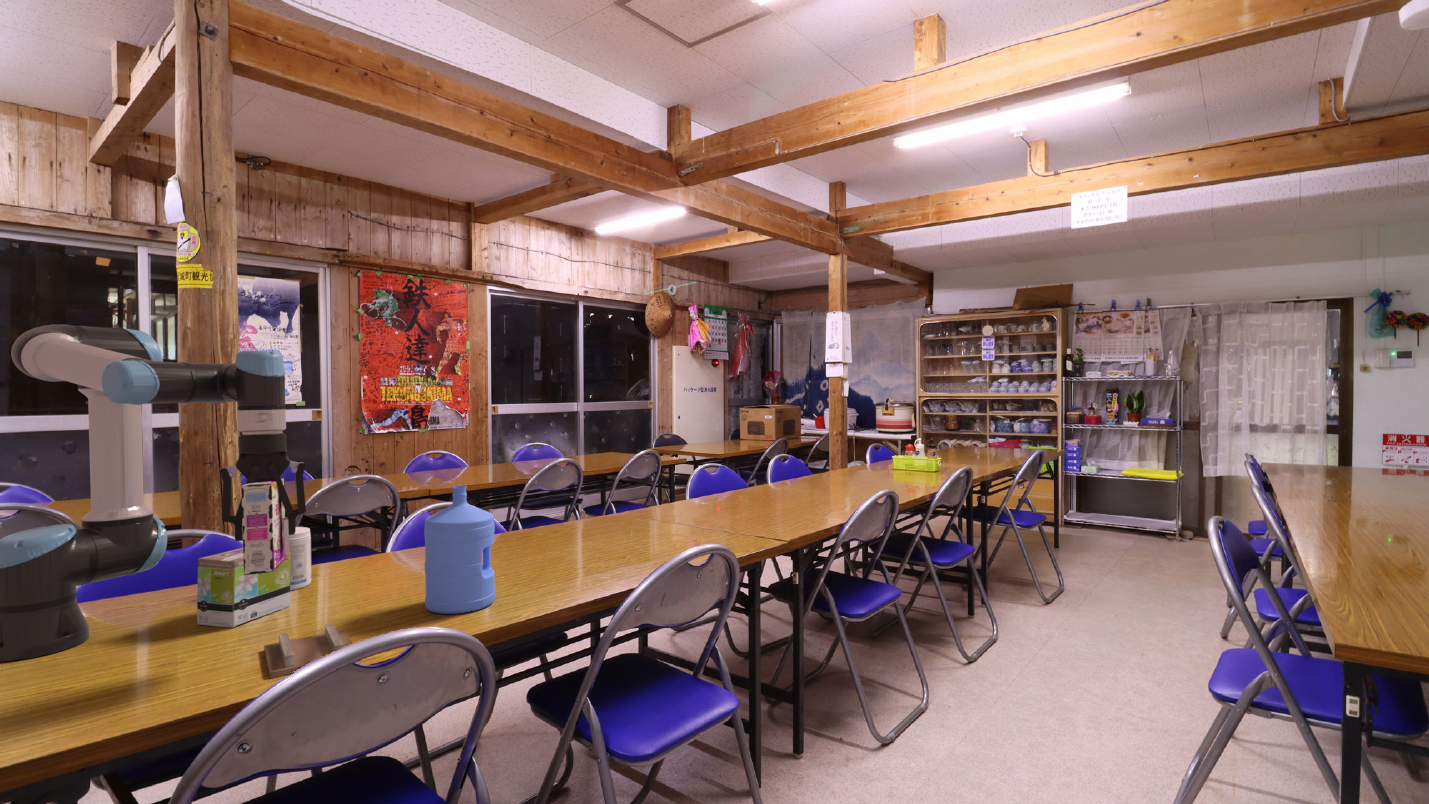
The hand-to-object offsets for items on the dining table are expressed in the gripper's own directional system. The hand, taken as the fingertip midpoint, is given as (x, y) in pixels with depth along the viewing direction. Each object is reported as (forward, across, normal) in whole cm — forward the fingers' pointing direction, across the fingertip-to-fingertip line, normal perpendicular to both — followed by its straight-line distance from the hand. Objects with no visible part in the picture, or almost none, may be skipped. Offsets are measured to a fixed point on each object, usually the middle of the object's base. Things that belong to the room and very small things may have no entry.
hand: (266, 554), depth 125 cm
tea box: (+20, -3, +33) cm, 38 cm away
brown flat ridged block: (+20, +6, -2) cm, 21 cm away
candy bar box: (+3, 0, 0) cm, 3 cm away
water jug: (+20, +38, +12) cm, 45 cm away
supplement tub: (+19, +6, +53) cm, 57 cm away
